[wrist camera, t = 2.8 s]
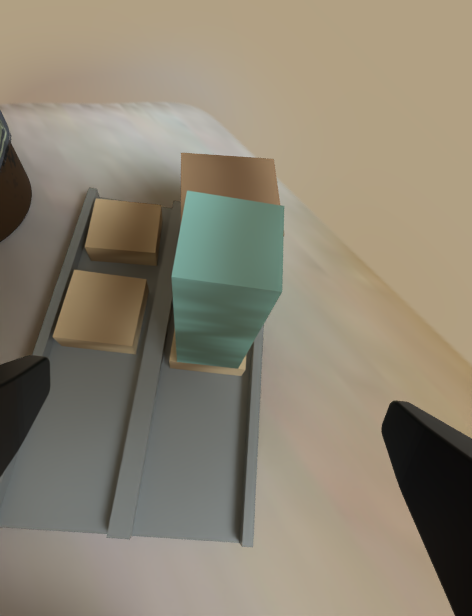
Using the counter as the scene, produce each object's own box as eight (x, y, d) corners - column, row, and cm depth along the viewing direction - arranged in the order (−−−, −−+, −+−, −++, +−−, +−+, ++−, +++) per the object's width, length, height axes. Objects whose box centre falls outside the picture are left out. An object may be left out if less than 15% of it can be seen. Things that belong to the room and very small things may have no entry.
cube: (181, 282, 20) (180, 231, 15) (181, 214, 22) (181, 152, 17) (263, 282, 20) (284, 234, 16) (256, 217, 22) (273, 158, 18)
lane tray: (-6, 522, 16) (-28, 529, 14) (95, 206, 24) (89, 187, 22) (246, 539, 17) (252, 547, 16) (263, 231, 25) (268, 215, 24)
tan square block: (61, 346, 19) (52, 337, 18) (81, 282, 21) (74, 269, 19) (135, 354, 19) (132, 346, 18) (149, 291, 21) (146, 279, 20)
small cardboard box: (90, 260, 21) (84, 246, 20) (101, 214, 23) (95, 198, 21) (157, 265, 22) (155, 252, 20) (162, 220, 23) (161, 204, 22)
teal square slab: (170, 368, 19) (157, 274, 10) (193, 223, 23) (200, 59, 14) (241, 376, 20) (295, 293, 10) (251, 231, 24) (296, 77, 14)
